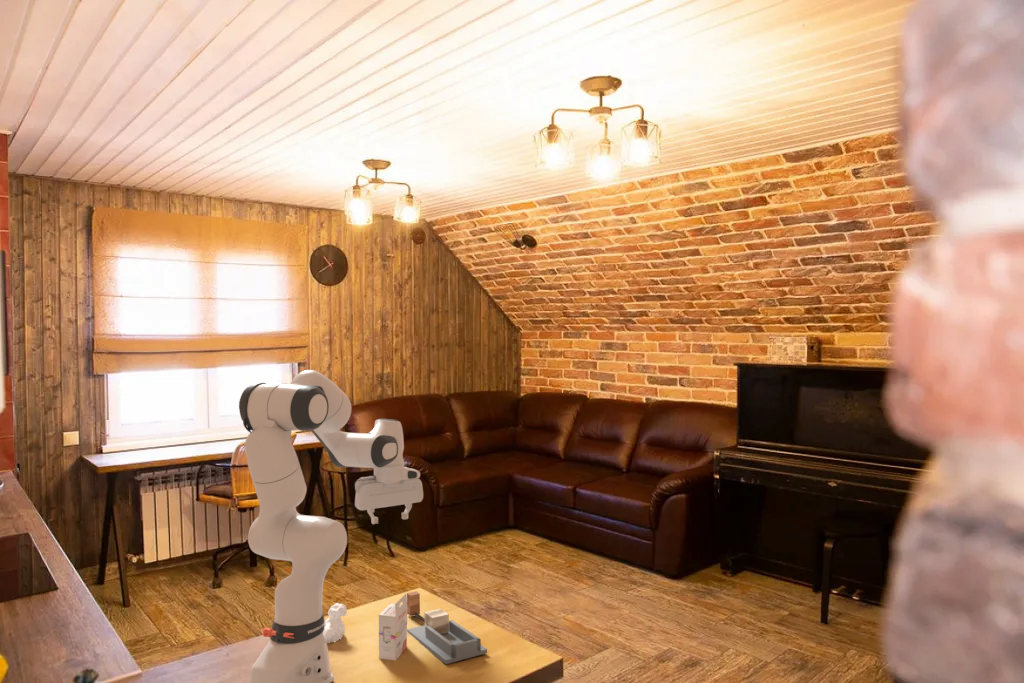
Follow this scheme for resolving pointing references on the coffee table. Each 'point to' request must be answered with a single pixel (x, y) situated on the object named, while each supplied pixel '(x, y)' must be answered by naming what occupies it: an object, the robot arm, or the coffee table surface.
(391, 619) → the ink cartridge box
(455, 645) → the grey slotted base
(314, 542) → the robot arm
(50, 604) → the coffee table surface
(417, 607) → the block
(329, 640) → the bust
